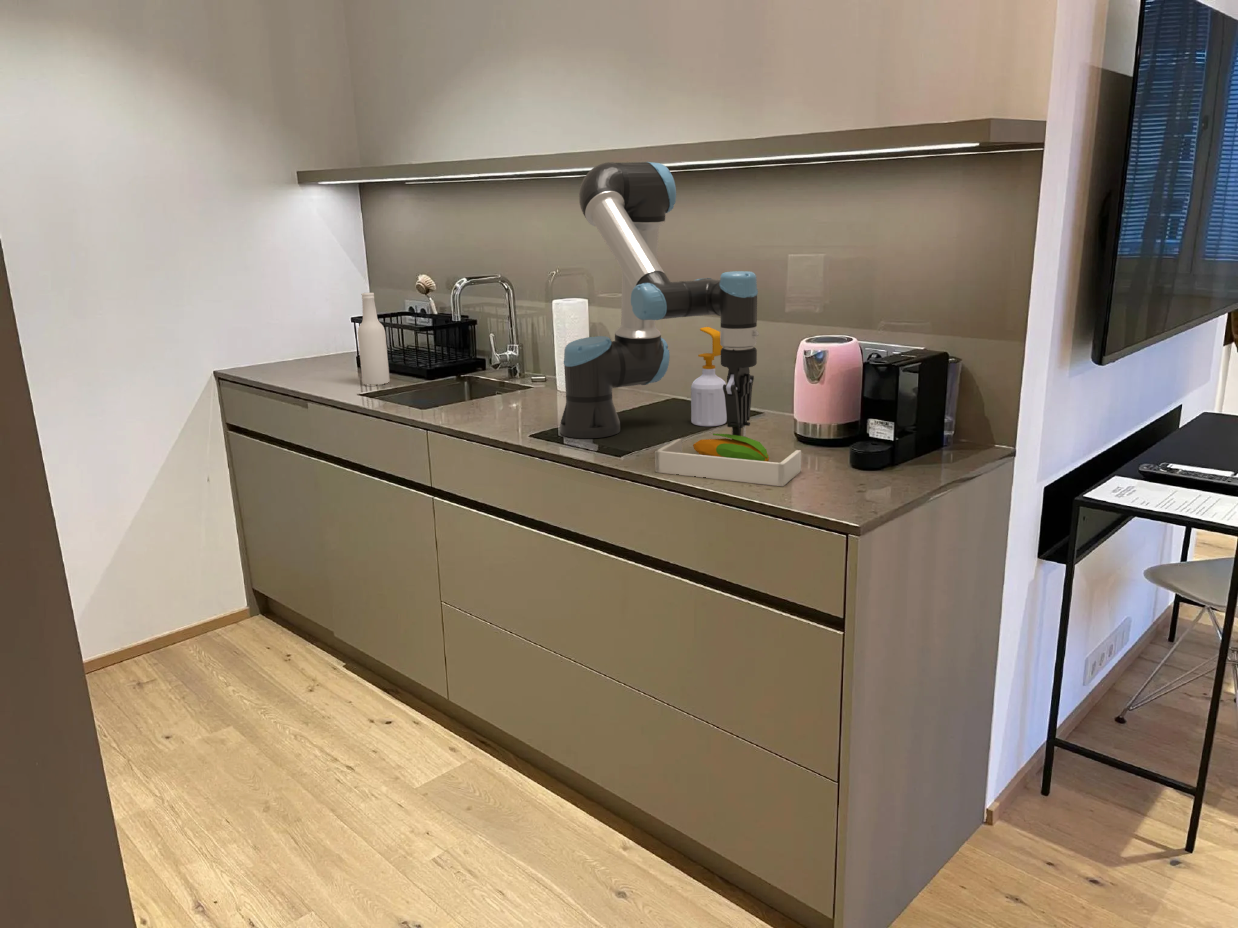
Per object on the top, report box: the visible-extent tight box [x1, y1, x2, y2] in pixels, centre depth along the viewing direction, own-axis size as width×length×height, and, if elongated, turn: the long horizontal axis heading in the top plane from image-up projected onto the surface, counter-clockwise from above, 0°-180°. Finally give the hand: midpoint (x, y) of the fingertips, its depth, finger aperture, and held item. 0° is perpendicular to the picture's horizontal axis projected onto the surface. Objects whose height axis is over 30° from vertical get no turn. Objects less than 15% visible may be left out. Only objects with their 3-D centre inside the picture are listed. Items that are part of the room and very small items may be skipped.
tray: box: [654, 438, 802, 487], centre depth 195 cm, size 28×12×4 cm, turn 63°
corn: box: [692, 433, 770, 462], centre depth 197 cm, size 7×8×20 cm
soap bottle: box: [690, 326, 727, 427], centre depth 238 cm, size 9×9×25 cm
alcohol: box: [357, 292, 391, 385], centre depth 306 cm, size 9×9×30 cm
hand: (738, 456), depth 201 cm, fingers closed
